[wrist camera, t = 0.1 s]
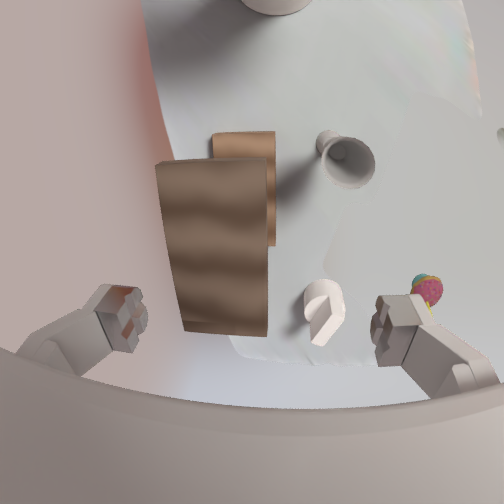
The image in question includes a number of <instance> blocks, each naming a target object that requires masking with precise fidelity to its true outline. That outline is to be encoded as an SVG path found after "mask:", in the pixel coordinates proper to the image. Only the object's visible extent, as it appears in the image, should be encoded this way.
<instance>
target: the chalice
mask: <svg viewBox="0 0 504 504" xmlns="http://www.w3.org/2000/svg"><path fill="white" fill-rule="evenodd" d="M316 146H317V149H318V150H319V152H320V153H321V158H322V168H323V171H324V173H325V175H326V176H327V178H328V179H329V180H330V181H331V182H332V183H333V184H335V185H336V186H339V187H341V188H345V189H355V188H360V187H362V186H363V185H365V184H367V182H368V181H369V180H370V179H371V178H372V176H373V173H374V171H375V160H374V156H373V154H372V152H371V150H370V149H369V147H368V146H367V145H365V144H364V143H363V142H362V141H360V140H358V139H356V138H351V137H342V136H340V135H339V134H338V133H337V132H335V131H331V130H327V131H323V132H322V133H320V134H319V136H318V137H317V140H316Z"/></svg>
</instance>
